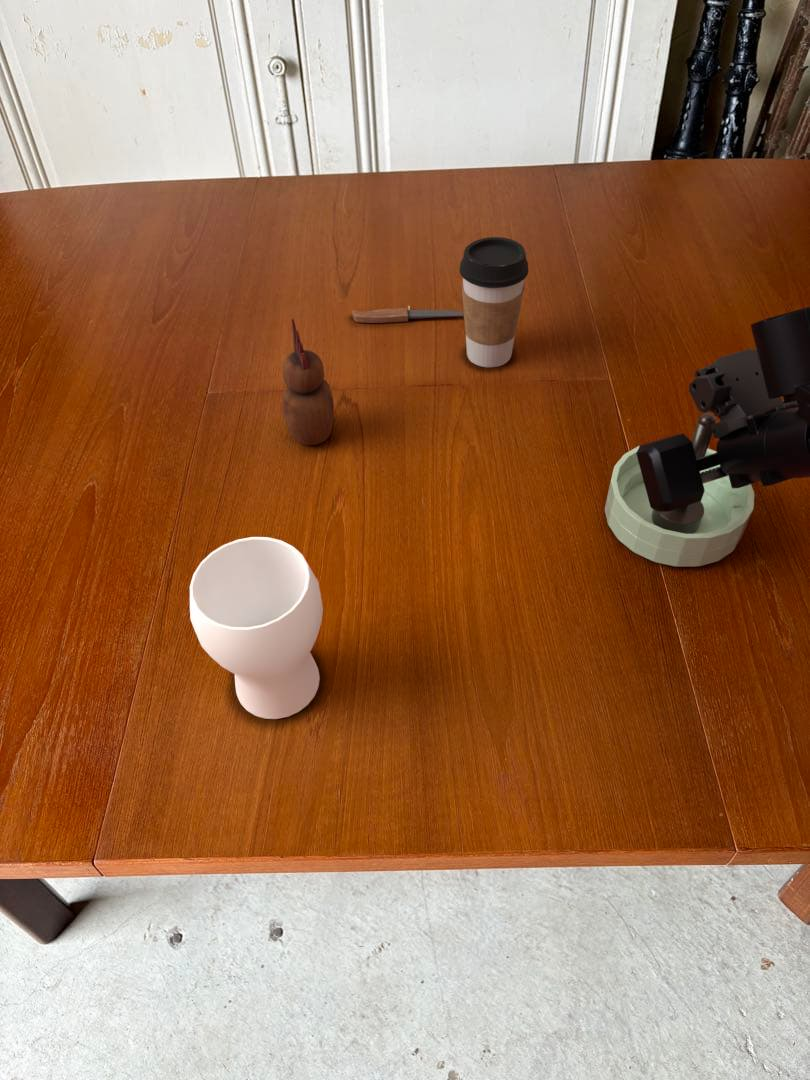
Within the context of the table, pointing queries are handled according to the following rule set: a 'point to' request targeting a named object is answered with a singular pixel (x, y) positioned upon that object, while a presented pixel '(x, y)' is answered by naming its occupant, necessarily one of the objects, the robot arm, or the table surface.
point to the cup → (260, 622)
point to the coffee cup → (492, 298)
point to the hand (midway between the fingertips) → (685, 459)
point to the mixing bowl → (706, 545)
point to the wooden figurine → (306, 395)
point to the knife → (400, 315)
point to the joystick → (692, 514)
